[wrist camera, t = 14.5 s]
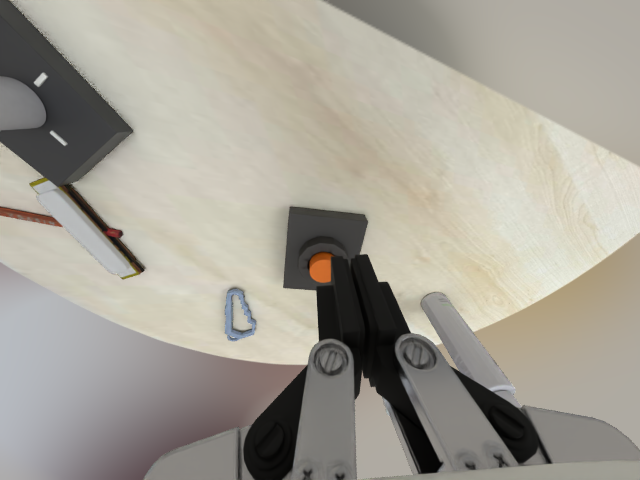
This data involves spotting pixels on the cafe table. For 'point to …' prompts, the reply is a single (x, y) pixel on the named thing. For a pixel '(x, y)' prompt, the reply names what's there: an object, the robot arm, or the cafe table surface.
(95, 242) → the harmonica
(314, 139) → the cafe table surface
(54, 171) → the timer panel
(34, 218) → the pencil
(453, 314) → the bottle
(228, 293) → the blue flat open loop
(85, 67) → the cafe table surface
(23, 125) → the timer dial
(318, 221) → the button block
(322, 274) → the button
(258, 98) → the cafe table surface
